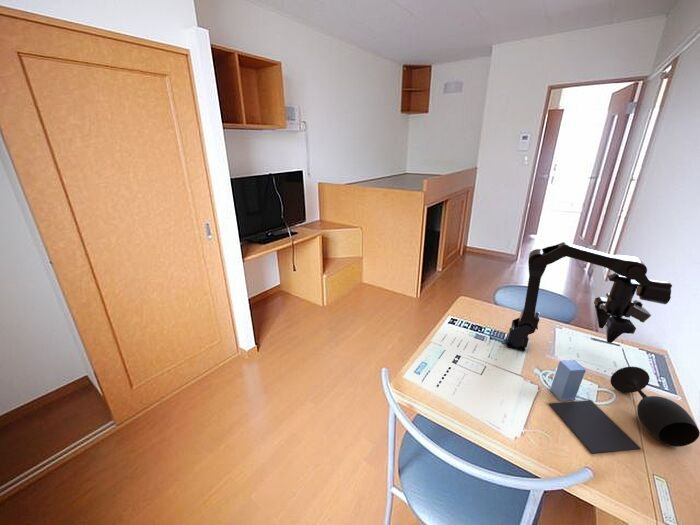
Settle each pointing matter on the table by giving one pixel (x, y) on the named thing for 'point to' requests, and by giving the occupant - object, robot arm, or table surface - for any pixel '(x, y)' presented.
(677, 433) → the wine glass
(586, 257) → the robot arm
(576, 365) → the blue block
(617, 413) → the table surface
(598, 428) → the rubber mat
